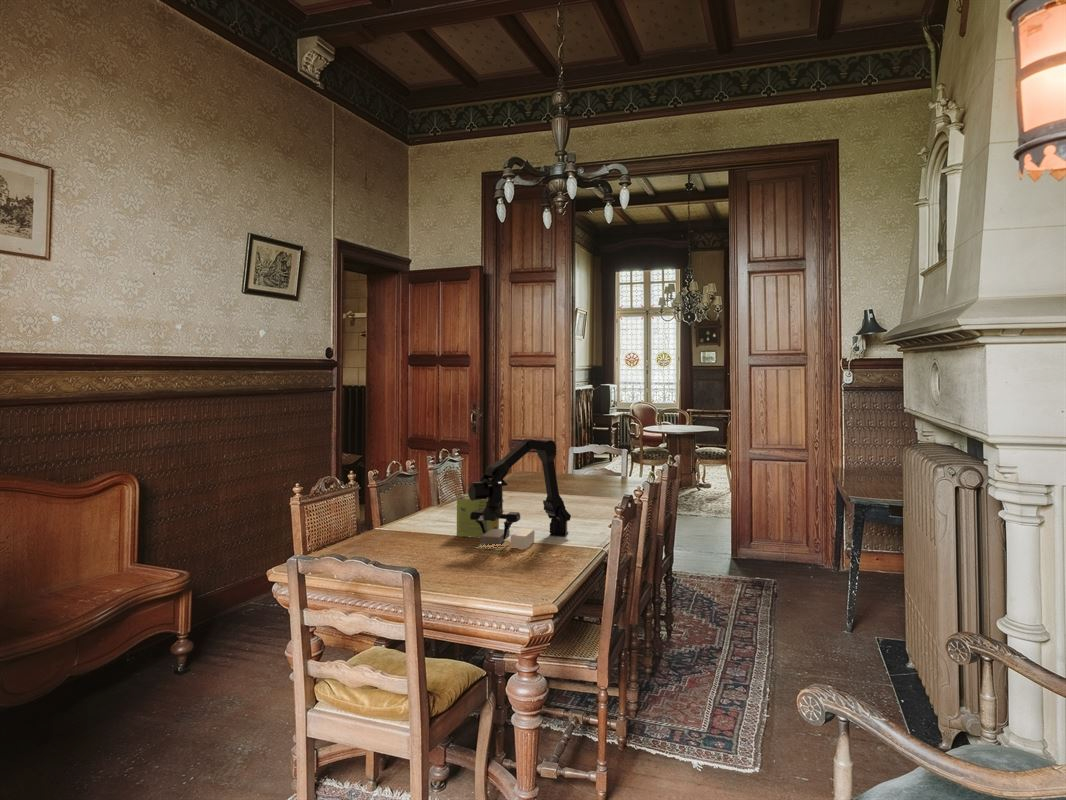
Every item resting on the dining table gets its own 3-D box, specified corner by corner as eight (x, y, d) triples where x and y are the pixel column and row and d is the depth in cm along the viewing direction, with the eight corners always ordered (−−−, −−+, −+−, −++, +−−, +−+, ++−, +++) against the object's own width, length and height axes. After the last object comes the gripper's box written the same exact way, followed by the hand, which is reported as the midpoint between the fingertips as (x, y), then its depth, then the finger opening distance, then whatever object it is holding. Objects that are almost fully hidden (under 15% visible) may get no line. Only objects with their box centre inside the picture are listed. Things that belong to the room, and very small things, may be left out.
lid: (509, 536, 263) (509, 529, 263) (498, 544, 250) (498, 537, 250) (491, 534, 265) (491, 528, 265) (480, 543, 252) (480, 536, 252)
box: (534, 542, 262) (534, 529, 261) (525, 549, 250) (525, 536, 250) (519, 541, 263) (519, 528, 263) (510, 548, 252) (510, 535, 251)
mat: (514, 540, 264) (514, 539, 264) (502, 550, 248) (502, 549, 248) (488, 538, 267) (488, 537, 267) (474, 548, 251) (474, 547, 251)
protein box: (493, 538, 267) (493, 499, 267) (456, 536, 270) (456, 498, 270) (499, 532, 278) (499, 495, 277) (464, 530, 281) (463, 494, 280)
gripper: (464, 500, 251) (464, 541, 252) (512, 503, 247) (512, 544, 247) (475, 495, 262) (475, 534, 263) (520, 497, 257) (520, 537, 258)
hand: (495, 538), depth 257 cm, fingers closed on lid, 7 cm apart
